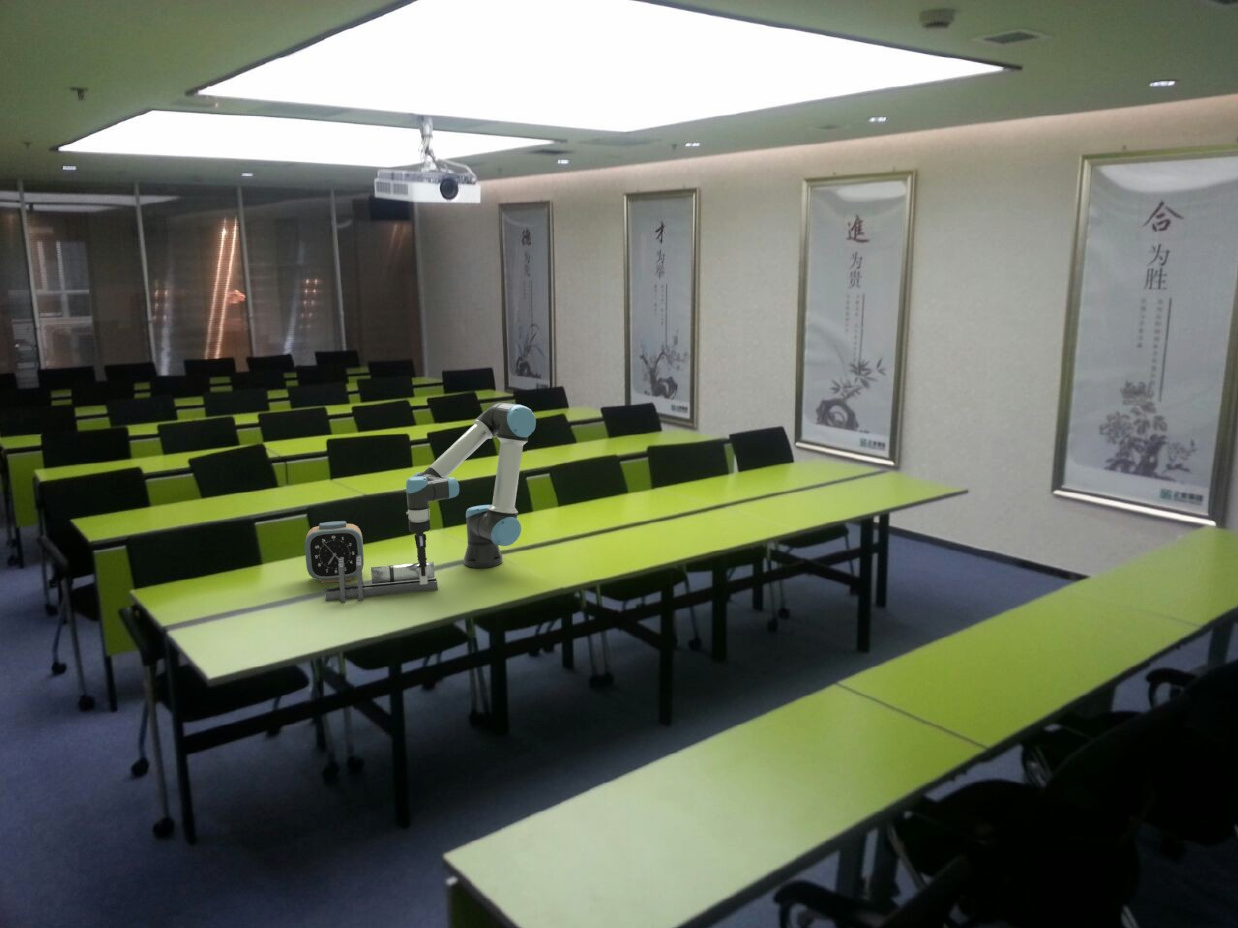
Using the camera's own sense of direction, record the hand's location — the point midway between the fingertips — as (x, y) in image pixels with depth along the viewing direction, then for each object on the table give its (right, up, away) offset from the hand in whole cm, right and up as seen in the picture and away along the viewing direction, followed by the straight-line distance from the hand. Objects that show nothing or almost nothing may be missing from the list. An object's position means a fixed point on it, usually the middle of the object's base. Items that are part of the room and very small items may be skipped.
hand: (423, 580), depth 341 cm
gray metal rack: (-14, -4, -3) cm, 15 cm away
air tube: (-7, 0, -2) cm, 7 cm away
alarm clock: (-36, -1, +15) cm, 39 cm away
